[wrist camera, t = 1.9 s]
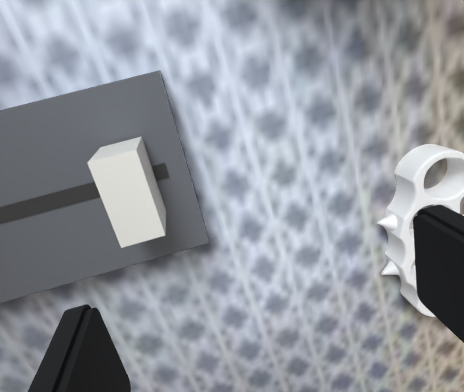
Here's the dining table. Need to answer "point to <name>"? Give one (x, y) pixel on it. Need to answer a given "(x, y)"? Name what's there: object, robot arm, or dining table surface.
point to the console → (85, 184)
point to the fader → (129, 191)
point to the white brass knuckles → (412, 200)
